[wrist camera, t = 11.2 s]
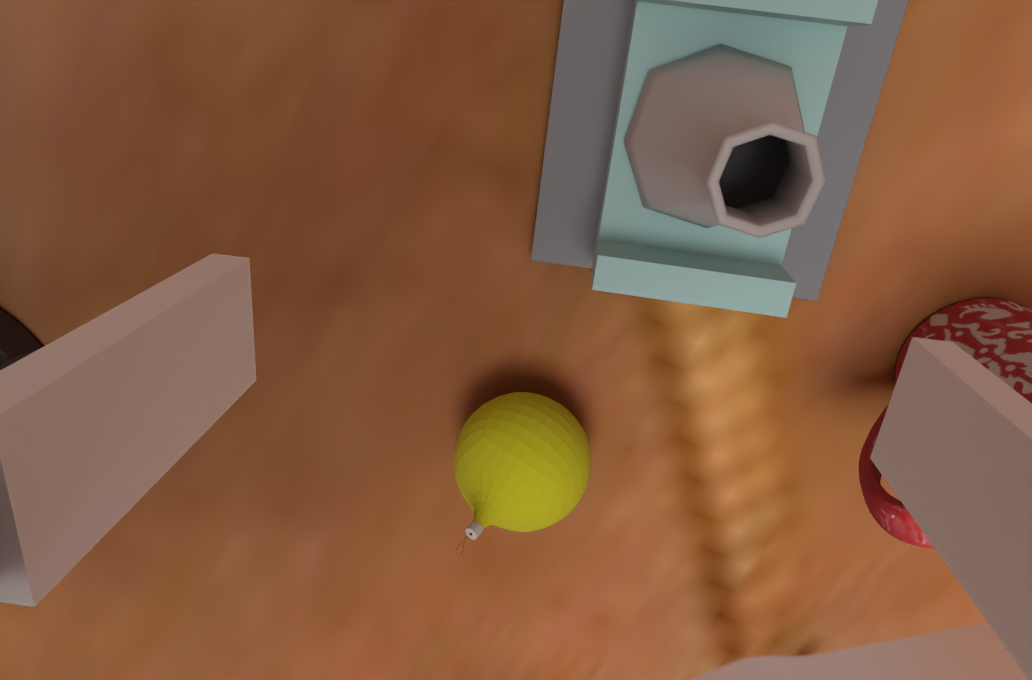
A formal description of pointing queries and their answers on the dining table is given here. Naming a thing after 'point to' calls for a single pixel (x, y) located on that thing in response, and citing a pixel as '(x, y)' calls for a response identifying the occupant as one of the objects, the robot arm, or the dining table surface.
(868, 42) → the display stand
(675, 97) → the flask
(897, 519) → the mug
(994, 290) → the dining table surface
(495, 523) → the ornament
